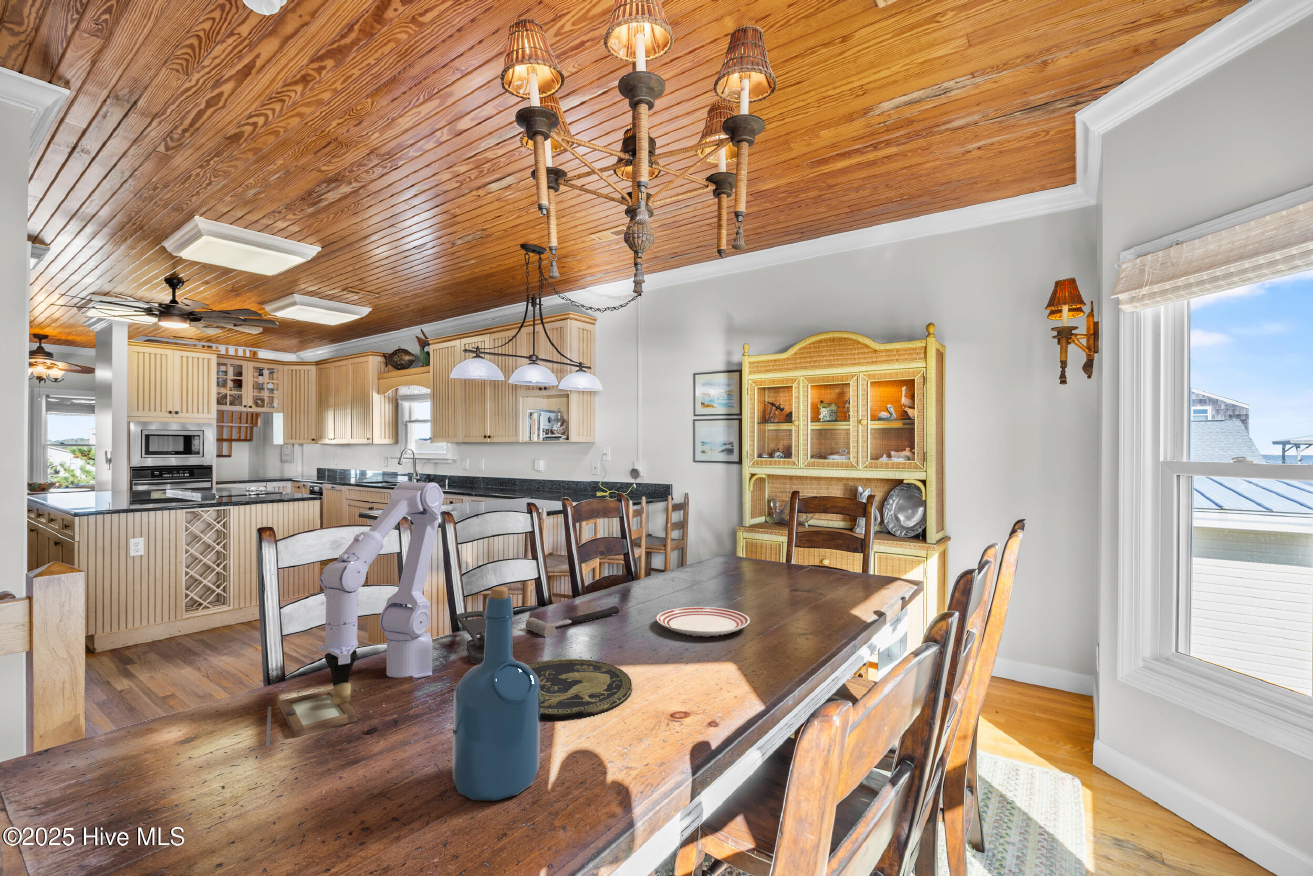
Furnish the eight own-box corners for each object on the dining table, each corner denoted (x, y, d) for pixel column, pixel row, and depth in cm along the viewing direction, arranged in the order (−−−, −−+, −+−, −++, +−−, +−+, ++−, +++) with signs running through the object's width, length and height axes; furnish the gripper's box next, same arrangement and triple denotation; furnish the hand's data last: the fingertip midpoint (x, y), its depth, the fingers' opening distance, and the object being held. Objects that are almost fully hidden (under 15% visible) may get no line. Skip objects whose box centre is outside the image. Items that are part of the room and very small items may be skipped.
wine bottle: (437, 779, 92) (440, 587, 93) (511, 749, 101) (514, 575, 102) (479, 818, 82) (482, 604, 83) (557, 781, 92) (560, 589, 92)
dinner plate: (645, 618, 181) (645, 608, 181) (726, 612, 189) (726, 601, 190) (673, 647, 155) (674, 635, 155) (766, 638, 163) (766, 626, 163)
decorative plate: (464, 705, 115) (527, 652, 145) (464, 714, 115) (527, 660, 144) (611, 721, 109) (645, 663, 139) (611, 732, 109) (645, 672, 139)
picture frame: (340, 692, 122) (340, 672, 122) (361, 719, 110) (361, 697, 110) (279, 706, 115) (279, 685, 115) (294, 737, 103) (295, 713, 103)
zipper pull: (485, 609, 165) (512, 633, 144) (484, 632, 165) (512, 660, 144) (452, 613, 161) (475, 639, 139) (452, 638, 161) (475, 667, 139)
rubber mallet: (626, 608, 182) (544, 626, 161) (626, 619, 182) (544, 639, 161) (606, 602, 189) (525, 619, 168) (606, 613, 189) (525, 631, 168)
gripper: (317, 615, 122) (315, 681, 122) (321, 634, 110) (319, 707, 110) (354, 610, 126) (353, 674, 126) (362, 628, 114) (361, 699, 113)
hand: (340, 689), depth 118 cm, fingers closed
